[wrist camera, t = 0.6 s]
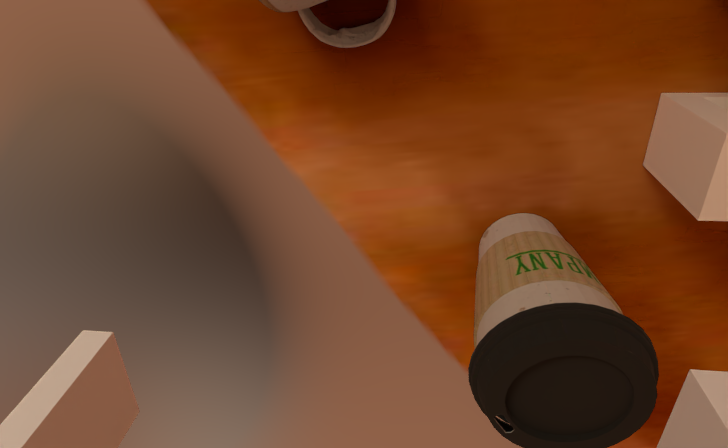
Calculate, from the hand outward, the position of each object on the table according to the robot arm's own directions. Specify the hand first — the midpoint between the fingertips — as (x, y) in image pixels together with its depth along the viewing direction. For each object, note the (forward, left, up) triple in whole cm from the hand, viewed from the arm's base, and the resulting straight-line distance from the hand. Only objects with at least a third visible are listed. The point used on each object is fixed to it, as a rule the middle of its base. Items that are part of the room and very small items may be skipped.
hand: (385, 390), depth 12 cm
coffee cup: (+12, +9, -26) cm, 30 cm away
